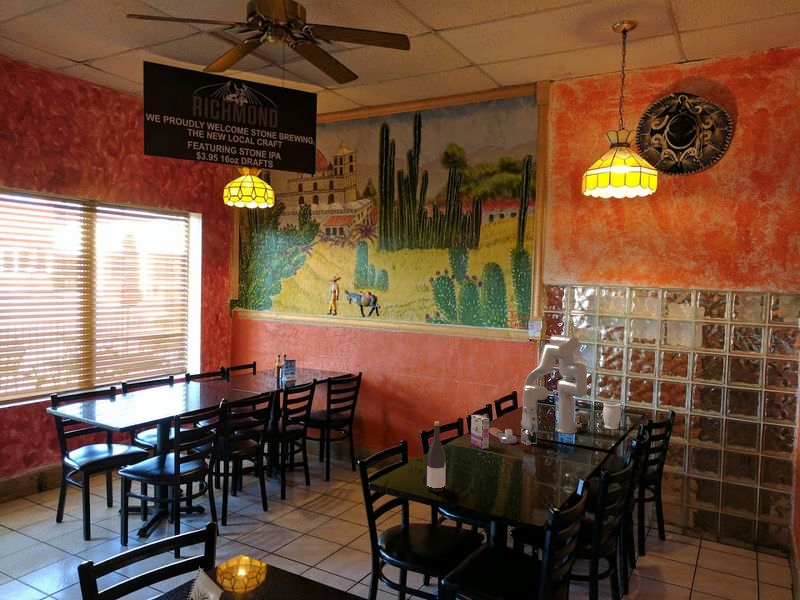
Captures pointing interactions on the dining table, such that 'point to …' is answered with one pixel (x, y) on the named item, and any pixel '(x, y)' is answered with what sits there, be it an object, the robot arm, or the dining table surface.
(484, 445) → the candy bar box
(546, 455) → the dining table surface
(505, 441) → the small pan
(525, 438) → the socket
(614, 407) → the jar
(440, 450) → the wine bottle
